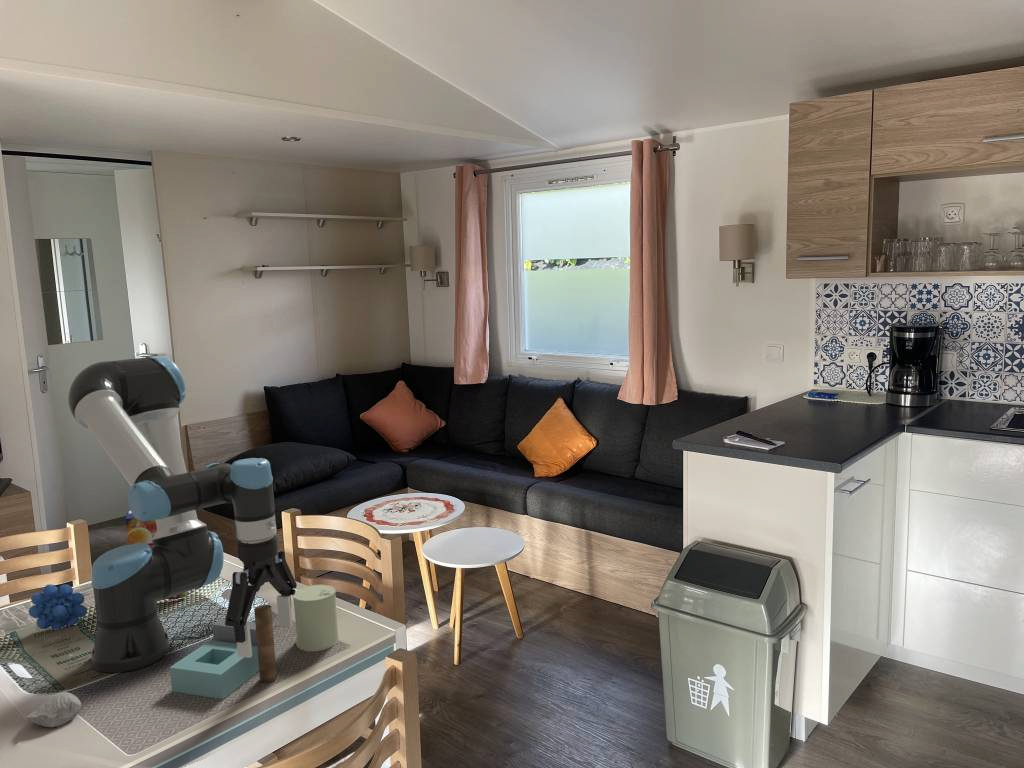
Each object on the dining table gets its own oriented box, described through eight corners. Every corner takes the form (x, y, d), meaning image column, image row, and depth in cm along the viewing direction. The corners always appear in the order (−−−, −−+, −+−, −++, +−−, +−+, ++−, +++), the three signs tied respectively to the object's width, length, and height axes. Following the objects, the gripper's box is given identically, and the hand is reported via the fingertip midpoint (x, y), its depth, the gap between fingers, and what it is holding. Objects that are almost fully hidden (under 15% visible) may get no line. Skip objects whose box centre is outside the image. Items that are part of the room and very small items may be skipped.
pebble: (55, 736, 139) (52, 709, 139) (19, 730, 142) (16, 704, 141) (92, 710, 148) (89, 685, 147) (57, 705, 150) (55, 681, 149)
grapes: (33, 646, 176) (27, 595, 174) (30, 635, 181) (24, 586, 179) (91, 631, 182) (86, 582, 181) (87, 621, 188) (81, 574, 186)
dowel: (256, 682, 156) (250, 610, 154) (266, 674, 159) (260, 604, 157) (270, 684, 155) (264, 612, 153) (279, 676, 158) (274, 605, 156)
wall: (215, 660, 166) (212, 624, 165) (224, 653, 168) (221, 618, 167) (263, 666, 162) (260, 630, 161) (272, 660, 165) (269, 624, 164)
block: (171, 691, 153) (169, 667, 153) (212, 662, 165) (210, 640, 164) (223, 699, 150) (221, 674, 149) (260, 669, 161) (259, 646, 160)
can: (328, 653, 167) (324, 599, 166) (288, 650, 169) (284, 597, 167) (345, 634, 176) (342, 583, 175) (308, 631, 178) (304, 581, 176)
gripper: (232, 560, 140) (243, 672, 143) (308, 520, 164) (316, 616, 166) (198, 558, 142) (209, 668, 145) (277, 518, 166) (285, 613, 168)
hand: (266, 640), depth 156 cm, fingers open, 13 cm apart
